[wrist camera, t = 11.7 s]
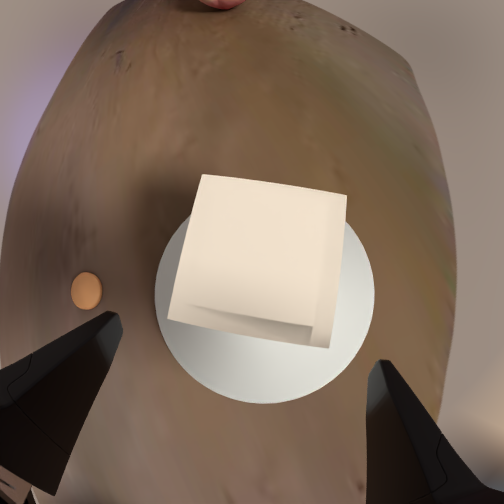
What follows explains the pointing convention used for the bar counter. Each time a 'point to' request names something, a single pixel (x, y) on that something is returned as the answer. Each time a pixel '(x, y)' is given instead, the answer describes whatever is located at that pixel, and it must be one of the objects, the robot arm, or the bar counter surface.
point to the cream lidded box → (261, 261)
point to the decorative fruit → (222, 3)
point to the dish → (262, 350)
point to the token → (86, 291)
